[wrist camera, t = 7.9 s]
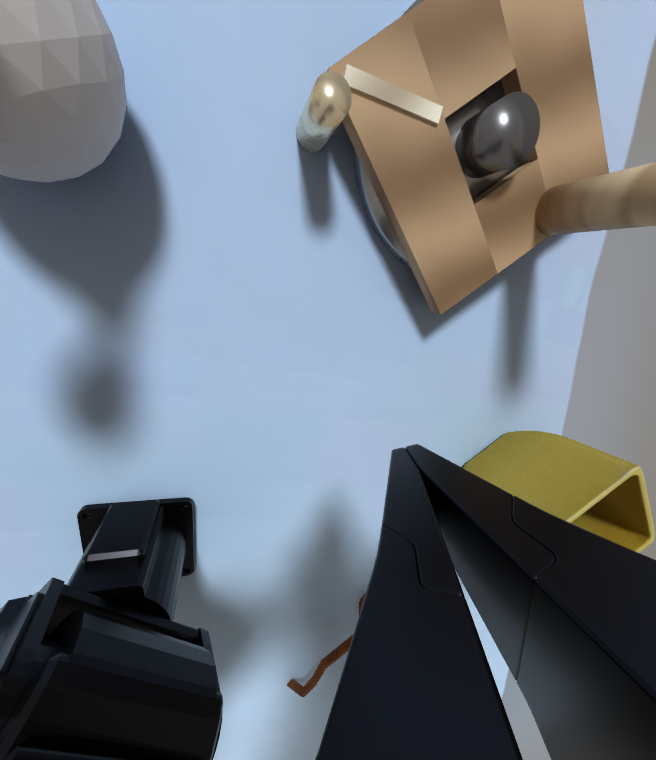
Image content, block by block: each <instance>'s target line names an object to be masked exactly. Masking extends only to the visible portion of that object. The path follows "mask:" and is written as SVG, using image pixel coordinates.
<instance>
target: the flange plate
mask: <svg viewBox="0 0 656 760" xmlns="http://www.w3.org/2000/svg"><path fill="white" fill-rule="evenodd" d="M327 71H335V72H337V73H339V74H341V75H342V76H343V77H344V78H345V79H346V81H347V82H348V84H349V86H350V89H351V94H352V103H351V107H350V110H349V112H348V114H347V115H346V116H345V118H344V119H343V121H342V123H343V125H344V127H345V129H346V131H347V134H348V136H349V138H350V140H351V142H352V144H353V146H354V148H355V150H356V153H357V155H358V157H359V159H360V161H361V163H362V165H363V167H364V170H365V172H366V174H367V176H368V178H369V180H370V182H371V184H372V187H373V189H374V191H375V193H376V195H377V197H378V199H379V201H380V203H381V206H382V208H383V210H384V212H385V214H386V216H387V218H388V220H389V223H390V225H391V227H392V229H393V231H394V233H395V235H396V237H397V240H398V242H399V244H400V246H401V248H402V250H403V252H404V254H405V256H406V259H407V261H408V263H409V265H410V267H411V269H412V271H413V273H414V276H415V278H416V280H417V282H418V284H419V286H420V288H421V290H422V293H423V295H424V297H425V299H426V301H427V303H428V305H429V307H430V309H431V312H432V313H436V314H440V315H441V314H443V313H444V312H445V311H447V310H448V309H450V308H451V307H452V306H454V305H455V304H456V303H458V302H459V301H461V300H462V299H463V298H465V297H466V296H468V295H469V294H470V293H472V292H473V291H474V290H476V289H477V288H479V287H480V286H481V285H483V284H484V283H485V282H487V281H488V280H490V279H491V278H492V277H494V276H495V275H496V274H498V273H499V272H501V271H502V270H503V269H505V268H506V267H507V266H509V265H510V264H512V263H513V262H514V261H516V260H517V259H518V258H520V257H521V256H523V255H524V254H525V253H527V252H528V251H529V250H531V249H532V248H534V247H535V246H536V245H538V244H539V243H541V242H542V241H543V240H545V239H546V238H547V237H549V236H550V235H555V234H566V233H577V232H589V231H600V230H611V229H623V228H633V227H645V226H656V162H654V163H650V164H646V165H642V166H637V167H633V168H629V169H625V170H621V171H616V172H612V173H609V169H608V163H607V156H606V150H605V143H604V137H603V130H602V124H601V117H600V110H599V104H598V97H597V91H596V84H595V78H594V71H593V65H592V58H591V51H590V45H589V38H588V32H587V25H586V19H585V12H584V5H583V0H424V1H423V2H421V3H420V4H418V5H417V6H416V7H414V8H413V9H411V10H410V11H409V12H407V13H406V14H404V15H403V16H402V17H400V18H399V19H397V20H396V21H395V22H393V23H392V24H390V25H389V26H387V27H386V28H385V29H383V30H382V31H380V32H379V33H378V34H376V35H375V36H373V37H372V38H371V39H369V40H368V41H366V42H365V43H364V44H362V45H361V46H359V47H358V48H357V49H355V50H354V51H352V52H351V53H349V54H348V55H347V56H345V57H344V58H342V59H341V60H340V61H338V62H337V63H335V64H334V65H333V66H331V67H330V68H328V70H327ZM499 79H501V81H502V84H503V88H504V92H505V96H506V95H508V94H509V93H512V92H517V91H518V92H524V93H526V94H528V95H529V96H530V97H531V98H532V99H533V100H534V101H535V103H536V105H537V107H538V110H539V115H540V132H539V136H538V140H537V143H536V145H535V147H534V149H533V151H532V153H531V154H530V155H529V157H528V158H527V159H526V160H525V161H523V165H521V166H520V167H519V168H517V169H516V170H515V171H513V172H512V173H510V174H509V175H508V176H506V177H505V178H503V179H502V180H501V181H499V182H498V183H497V184H495V185H494V186H492V187H491V188H490V189H488V190H487V191H485V192H484V193H483V194H481V195H480V196H479V197H477V198H476V199H474V200H472V197H471V194H470V191H469V188H468V186H467V183H466V180H465V177H464V174H463V171H462V168H461V165H460V162H459V159H458V156H457V154H456V151H455V148H454V145H453V142H452V139H451V136H450V133H449V130H448V127H447V125H446V122H445V118H446V117H448V116H449V115H451V114H452V113H453V112H455V111H456V110H458V109H459V108H460V107H462V106H463V105H464V104H466V103H467V102H469V101H470V100H471V99H473V98H474V97H476V96H477V95H478V94H480V93H481V92H483V91H484V90H485V89H487V88H488V87H490V86H491V85H492V84H494V83H495V82H497V81H498V80H499Z"/></svg>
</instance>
